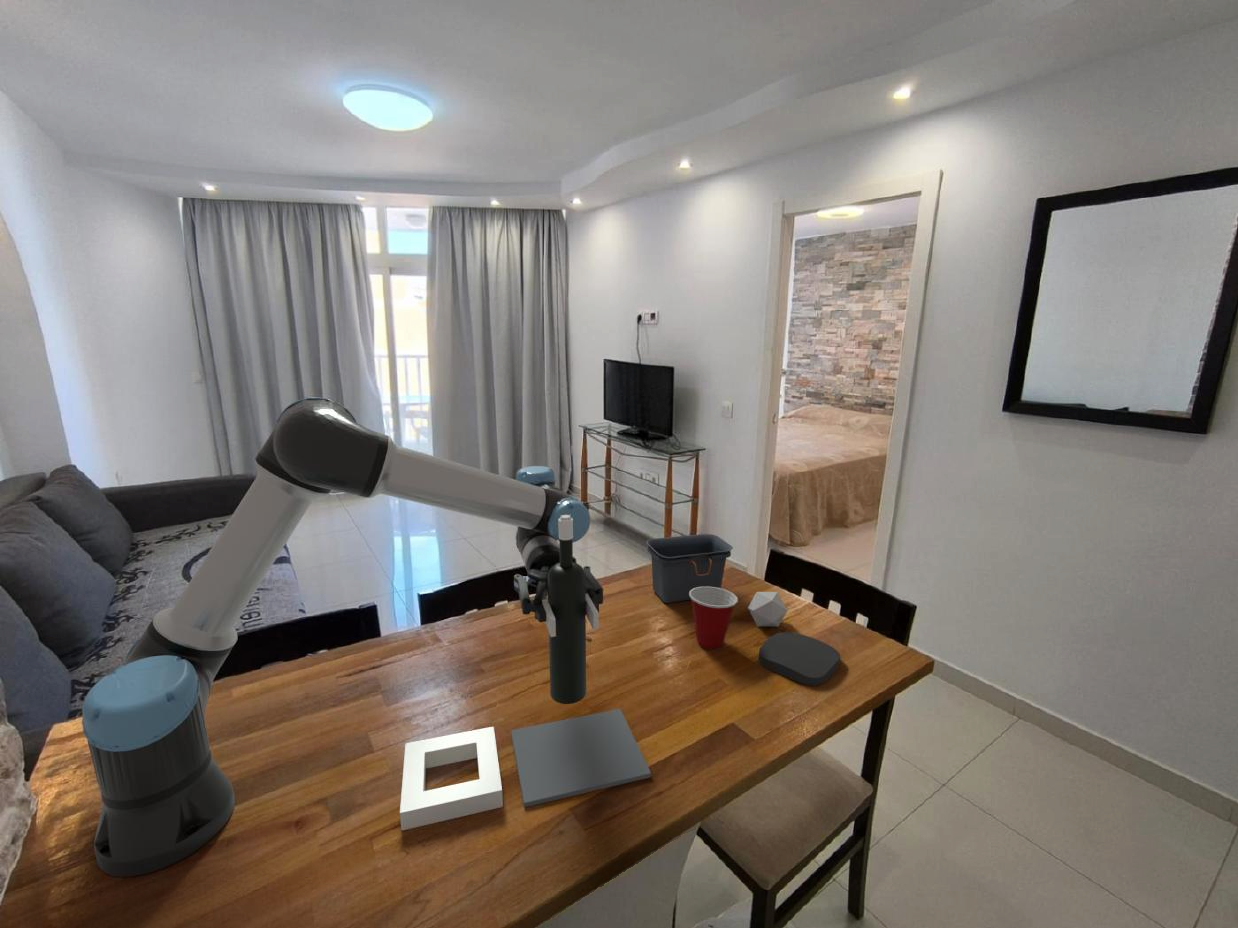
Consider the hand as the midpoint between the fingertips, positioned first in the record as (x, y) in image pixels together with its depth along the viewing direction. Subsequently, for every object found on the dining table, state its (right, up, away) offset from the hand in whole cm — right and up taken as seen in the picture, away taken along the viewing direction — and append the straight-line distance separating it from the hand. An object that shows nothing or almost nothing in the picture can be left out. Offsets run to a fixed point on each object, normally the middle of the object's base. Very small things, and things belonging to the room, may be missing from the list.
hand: (574, 624), depth 81 cm
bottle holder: (-19, -26, +5) cm, 33 cm away
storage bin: (+25, -12, +68) cm, 74 cm away
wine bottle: (-2, -14, +8) cm, 16 cm away
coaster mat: (0, -25, +11) cm, 27 cm away
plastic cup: (+27, -17, +45) cm, 56 cm away
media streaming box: (+45, -20, +39) cm, 63 cm away
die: (+42, -16, +54) cm, 70 cm away
